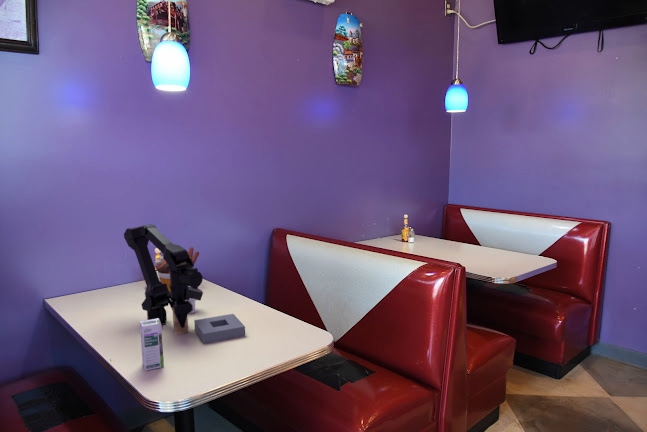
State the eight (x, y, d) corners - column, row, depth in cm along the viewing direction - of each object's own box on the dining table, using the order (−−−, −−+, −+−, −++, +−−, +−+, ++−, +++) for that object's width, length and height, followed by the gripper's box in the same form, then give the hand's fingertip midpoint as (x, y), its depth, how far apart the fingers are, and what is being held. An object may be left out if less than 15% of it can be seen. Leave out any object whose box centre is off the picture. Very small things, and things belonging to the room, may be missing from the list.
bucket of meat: (165, 299, 217) (163, 256, 214) (150, 291, 229) (147, 250, 226) (205, 289, 230) (203, 249, 227) (188, 282, 242) (186, 244, 239)
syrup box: (144, 371, 147) (141, 326, 145) (142, 363, 152) (139, 320, 150) (164, 367, 150) (161, 323, 148) (161, 360, 155) (158, 317, 153)
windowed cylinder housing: (180, 314, 197) (178, 278, 195) (186, 308, 204) (185, 274, 202) (196, 314, 196) (195, 279, 194) (203, 308, 203) (201, 274, 201)
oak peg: (175, 334, 176) (174, 310, 175) (173, 330, 180) (172, 307, 179) (188, 332, 178) (187, 309, 177) (185, 328, 182) (184, 305, 181)
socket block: (203, 343, 167) (203, 333, 167) (194, 329, 181) (194, 320, 180) (245, 335, 174) (244, 326, 173) (233, 322, 187) (233, 313, 187)
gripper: (206, 286, 171) (208, 328, 174) (195, 274, 188) (197, 312, 190) (174, 290, 167) (176, 333, 169) (165, 277, 183) (167, 316, 185)
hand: (180, 323), depth 178 cm, fingers open, 9 cm apart
